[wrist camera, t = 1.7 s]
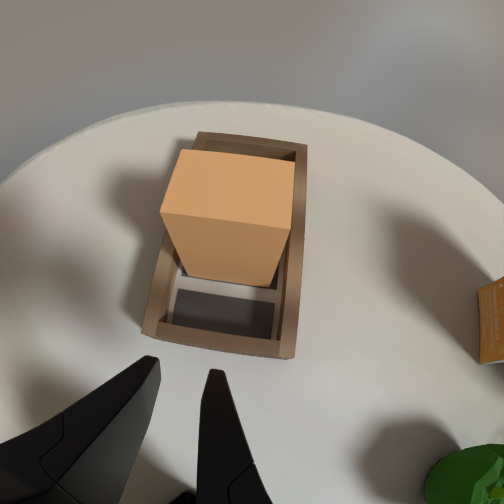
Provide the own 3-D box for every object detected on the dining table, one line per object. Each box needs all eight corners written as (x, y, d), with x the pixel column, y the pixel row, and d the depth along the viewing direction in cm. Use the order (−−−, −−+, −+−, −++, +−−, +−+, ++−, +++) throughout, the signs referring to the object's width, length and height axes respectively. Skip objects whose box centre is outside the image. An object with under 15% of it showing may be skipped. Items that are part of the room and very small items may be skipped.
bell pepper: (400, 522, 13) (462, 560, 4) (420, 449, 17) (500, 467, 8) (462, 500, 13) (525, 517, 4) (479, 432, 17) (552, 434, 8)
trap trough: (286, 359, 20) (294, 357, 17) (153, 338, 20) (140, 332, 17) (301, 165, 27) (307, 144, 24) (201, 152, 27) (198, 131, 24)
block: (269, 287, 21) (290, 229, 13) (188, 275, 21) (159, 211, 13) (274, 238, 23) (294, 162, 14) (199, 228, 23) (181, 149, 14)
